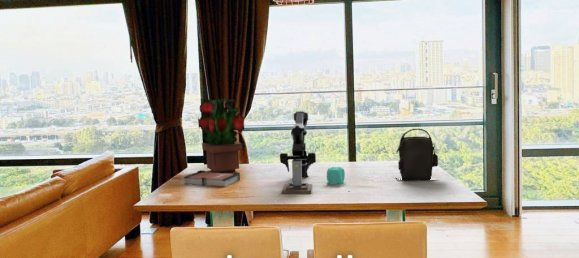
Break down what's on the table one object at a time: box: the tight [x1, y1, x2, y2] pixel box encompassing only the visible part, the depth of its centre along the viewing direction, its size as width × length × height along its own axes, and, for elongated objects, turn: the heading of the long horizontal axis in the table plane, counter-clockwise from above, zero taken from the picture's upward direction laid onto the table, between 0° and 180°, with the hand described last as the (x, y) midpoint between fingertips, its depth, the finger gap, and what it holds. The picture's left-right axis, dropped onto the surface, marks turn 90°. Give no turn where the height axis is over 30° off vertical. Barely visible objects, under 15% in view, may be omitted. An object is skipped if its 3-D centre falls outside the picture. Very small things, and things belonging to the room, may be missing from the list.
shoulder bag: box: [395, 128, 439, 182], centre depth 259 cm, size 23×9×28 cm, turn 87°
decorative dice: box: [326, 166, 346, 185], centre depth 257 cm, size 8×8×8 cm
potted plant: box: [197, 98, 245, 173], centre depth 296 cm, size 22×22×45 cm
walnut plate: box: [281, 182, 313, 195], centre depth 243 cm, size 14×14×2 cm
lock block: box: [291, 160, 303, 188], centre depth 241 cm, size 5×4×14 cm
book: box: [183, 169, 241, 188], centre depth 267 cm, size 26×18×5 cm
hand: (297, 171), depth 244 cm, fingers open, 9 cm apart
